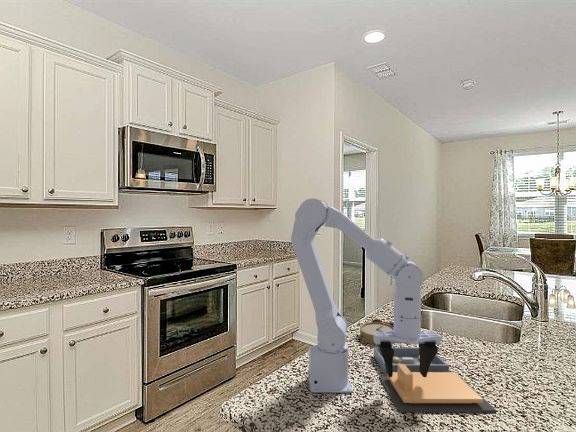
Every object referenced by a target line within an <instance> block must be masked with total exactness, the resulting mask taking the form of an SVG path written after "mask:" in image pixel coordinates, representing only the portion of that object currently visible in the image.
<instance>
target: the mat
mask: <svg viewBox="0 0 576 432" xmlns="http://www.w3.org/2000/svg"><path fill="white" fill-rule="evenodd" d="M458 376H459V375H458ZM459 377H460V378H461V379H462V380H463V381H464V382H465V383H467V384H468V385H469V386H470V387H471V388H472V389H473V390H474V391H475V392H476V393H477V394H478V395H479V396H480V397H482V398H483V403H404V402H403V401H402V399H401V397H400V396H399V394H398V393H397V391H396V389H395V388H394V386H393V385H392V383H391V382H390V380H389V378H388V377H387V375H379V377H378V378H379V380H380V383H382V385H383V386H384V387H383V388H384V389H385V391H386V392H387V394H388V395H389V397H390V400H391V401H392V402H393V404H394V406H395V407H396V410H397V411H398V413H487V414H488V413H491V414H492V413H495V414H496V413H497V408H495V407H494V406H493V405H492V404H490V403H489V401H487V400H486V399H485V398H484V397H483V396H482V395H481V394H480V393H479V392H478V391H476V390H475V389H474V387H472V386H471V385H470V384H469V383H468V382H466V380H465V379H464V378H462V377H461V376H459Z"/></svg>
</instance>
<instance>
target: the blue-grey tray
mask: <svg viewBox="0 0 576 432" xmlns="http://www.w3.org/2000/svg"><path fill="white" fill-rule="evenodd" d="M392 349H393V350H394V355H393V364H392V365H393V372H398V364H405V365H406V366H407V368H408V369H409V370H410V371H411V372H420V368H419V367H420V352H419V347H392ZM373 357H374V359H375V361H376V362H377V364H378V365H379V367H380V368H381V371H382V372H383V373H384V376H387V373H386V366H385V362H384V358H383V355H382V353H381V350H380V348H379V346H378V347H376V346H375V347H373ZM428 372H450V365H449V364H448V363H447V362H446V361H445V360H444V359H443V358H442V357H441V356H439V354H438V353H437V354H436V355H435V357H434V358H433V360H432V362H431V364H430V367H429V370H428Z"/></svg>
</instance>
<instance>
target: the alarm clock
mask: <svg viewBox="0 0 576 432" xmlns="http://www.w3.org/2000/svg"><path fill="white" fill-rule="evenodd" d="M387 331H394V322H388V321H382V319H380V318H374V319H373V320H372V321H370V322H365V323H363V324H361V325H360V327H359V335H358V338H360V340H361V341H363V342H364V343H367V344H371V345H376V346H378V344H375V342H374V333H380V332H387ZM392 344H393V343H391V345H392Z"/></svg>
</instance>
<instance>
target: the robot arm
mask: <svg viewBox="0 0 576 432" xmlns="http://www.w3.org/2000/svg"><path fill="white" fill-rule="evenodd" d="M294 216H295V217H294V222H293V226H292V227H293V228H292V233H291V236H290V237H291V238H290V240H291V241H290V242H291V244H292V247H293V250H294V253H295V256H296V259H297V262H298V265H299V267H300V268H299V269H300V271H301V274H302V276H303V280H304V282H305V285H306V289H307V291H308V293H309V297H310V300H311V303H312V305H313V309H314V314H315V323H316V327H317V344H316V345H312V346H311V345H309V347H308V367H307V368H308V370H307V379H308V383H309V389H310V390H309V391H310V392H311V393H327V394H328V393H338V394H339V393H344V394H345V393H346V394H347V393H353V388H352V385H351V382H350V380H349V344H348V343H347V341H346V340H347V338H346V336H347V332H348V328H349V327H348V326H349V325H348V322H347V320H346V318H345V317H344V316H343V315H342V314H341V313H340V310H339V308H338V305H336V303H335V301H334V299H333V295H332V292H331V289H330V287H329V284H328V281H327V278H326V275H325V272H324V269H323V267H322V263H321V261H320V258H319V256H318V255H319V254H318V253H317V249H316V247H315V244H314V239H315V237H316V235H317V233H318V231H319V229H321V228H322V226H324V227H327V228H332V229H337V230H339V231H340V232H341V233H342V234H345V235H346V236H347V237H348V238H350V239H351V240H353V241H354V242H355V243H356V244H357V245H359V246H360V247H362V248H363V249H364V251H365V257H366V259H368V260H369V261H370V262H371V263H372V264H374V265H375V266H376V267H377V268H379V269H380V270H382V272H384V273H385V274H386V275H387V276H391V277H393V278H394V280H395V282H394V283H395V284H394V289H395V290H394V293H393V323H394V331H387V332H380V333H374V342H375V344H378V345H377V346H378V347H379V348H380V350H381V353H382V355H383V358H384V362H385V366H386V373H387V375H388V376H389V377H392V375H393V365H392V364H393V355H394V350H393V349H392V348H393V346H392V344H409V345H418V348H419V352H420V367H419V368H420V374H421V375H422V376H423V377H427V373H428V370H429V367H430V364H431V362H432V360H433V358H434V357H435V355H436V354H437V355H438V352H439V347H438V346H440V345H441V344H442V340H441V339H442V336H441V335H440V334H439V333H436V332H427V331H421V330H422V329H421V328H422V327H421V324H422V323H421V321H422V320H421V319H422V317H421V316H422V295H421V292H422V291H421V290H422V288H421V287H422V285H423V284H424V282H425V277H424V275H423V272H422V270H421V268H420V267H419V266H418V265H417V264H416V263H415V262H414V261H413V260H411V259H410V258H411V257H410V256H409V255H408V254H403V253H402V252H400V251H399V250H398V249H397V248H395V247H394V246H393V242H392V241H390V239H387V240H385V239H384V238H382V237H380V238H373V237H372V236H371V235H370V234H369V233H367V232H366V231H365V230H364V229H363V228H361V226H359V225H358V224H357V223H355V222H354V221H353V220H352V219H350V217H348V216H347V215H346V213H344V212H342V211H341V210H338V209H337V208H335V207H333V206H332V205H328V203H326V202H325V201H324V200H322V199H317V198H313V197H312V198H308V199H305V200H303V202H302V203H301V204H300V206H299V207H298V208H297V210H296V211H295V213H294ZM391 343H392V344H391ZM375 344H374V345H375ZM387 375H386V376H387Z"/></svg>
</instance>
